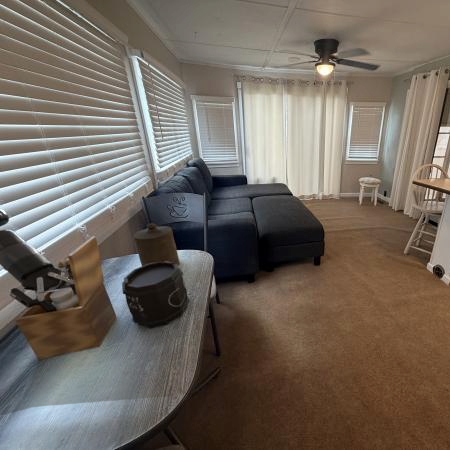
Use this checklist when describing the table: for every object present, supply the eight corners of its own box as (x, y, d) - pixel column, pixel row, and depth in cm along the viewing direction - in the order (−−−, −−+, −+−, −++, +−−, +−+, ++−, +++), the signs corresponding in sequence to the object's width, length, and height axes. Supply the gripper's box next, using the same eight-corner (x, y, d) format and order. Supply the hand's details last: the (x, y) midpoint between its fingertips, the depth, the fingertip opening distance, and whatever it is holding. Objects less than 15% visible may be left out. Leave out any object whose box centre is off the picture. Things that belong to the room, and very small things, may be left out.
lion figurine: (59, 282, 102) (51, 263, 99) (71, 275, 107) (63, 257, 104) (93, 281, 102) (85, 263, 98) (103, 274, 107) (96, 257, 103)
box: (38, 360, 67) (14, 320, 61) (65, 327, 78) (47, 291, 73) (99, 346, 70) (82, 307, 65) (116, 317, 82) (103, 282, 76)
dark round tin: (192, 289, 95) (184, 255, 89) (188, 321, 79) (178, 281, 73) (141, 300, 90) (129, 264, 84) (125, 336, 74) (109, 294, 68)
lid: (67, 255, 60) (71, 255, 60) (92, 236, 71) (95, 236, 71) (79, 306, 65) (83, 306, 65) (101, 280, 76) (104, 280, 76)
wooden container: (184, 259, 118) (175, 217, 110) (171, 275, 104) (159, 229, 96) (154, 260, 118) (142, 218, 109) (137, 277, 104) (121, 231, 96)
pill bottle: (90, 313, 77) (77, 283, 72) (88, 325, 72) (74, 294, 67) (63, 322, 73) (48, 290, 69) (59, 335, 68) (42, 303, 64)
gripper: (-11, 268, 60) (40, 314, 61) (57, 243, 72) (98, 282, 74) (-13, 283, 63) (35, 326, 64) (52, 256, 76) (92, 293, 77)
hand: (69, 302), depth 69 cm, fingers closed on pill bottle, 6 cm apart
